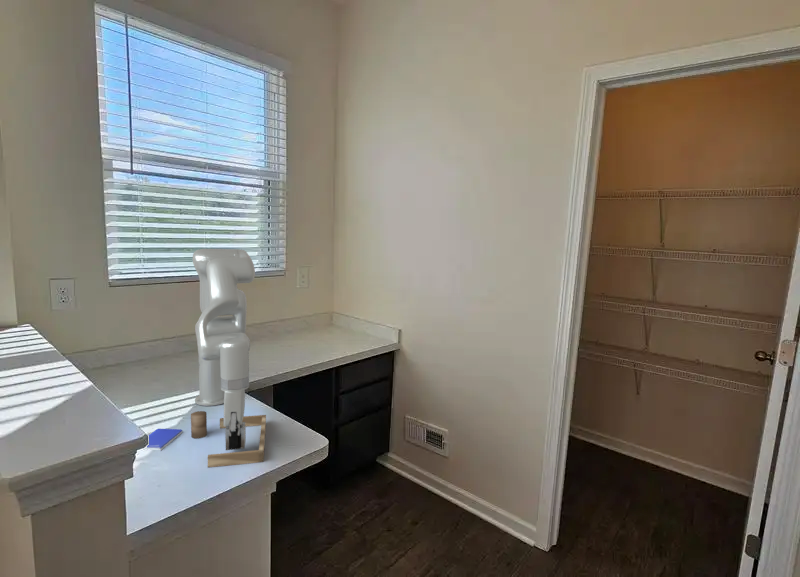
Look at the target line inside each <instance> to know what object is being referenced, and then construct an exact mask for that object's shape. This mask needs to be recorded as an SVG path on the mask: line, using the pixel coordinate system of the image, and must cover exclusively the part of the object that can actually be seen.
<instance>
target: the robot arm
mask: <svg viewBox="0 0 800 577" xmlns="http://www.w3.org/2000/svg"><path fill="white" fill-rule="evenodd" d="M192 263H193V266H194V268H195V271H196V273H197V275H198V278H199V309H200V312H201V314H200V316H199V318H198V320H197V322H196V323H195V327H194V328H195V329H194V330H195V332H194V333H195V337H196V342H197V344H196V345H197V353H198V386H199V387H198V388H199V390H198V392H199V394H198V395H196V397H195V398H194V403H195V404H197V405H199V406H205V407H206V406H207V407H211V406H220V405H223V418H224V426H225V427H226V426H228V424H229V449H235V450H241V449H240V448H241V434H240V425H241V424H242V422H243V417H244V415H245V407H246V406H245V405H246V391H245V390H248V388H250V362H249V360H250V358H249V357H250V350H251V340H250V337H248V335H247V334H246V333H247V332H246V331H247V313H248V312H247V309H248V304H247V302H248V301H247V295H246V293H245V292H244V291H243V289H238V284H250V283H252V282H253V281H254V279H255V275H256V274H255V273H256V269H255V265H254V262H253V260H252V257H250V255H249V254H248V252H247V251H246V250H244V249H240V248H238V249H236V248H233V249H232V248H200V249H196V250H195V251H194V252H193V254H192ZM236 423H238V424H236ZM236 427H238V430H237V429H236Z"/></svg>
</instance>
